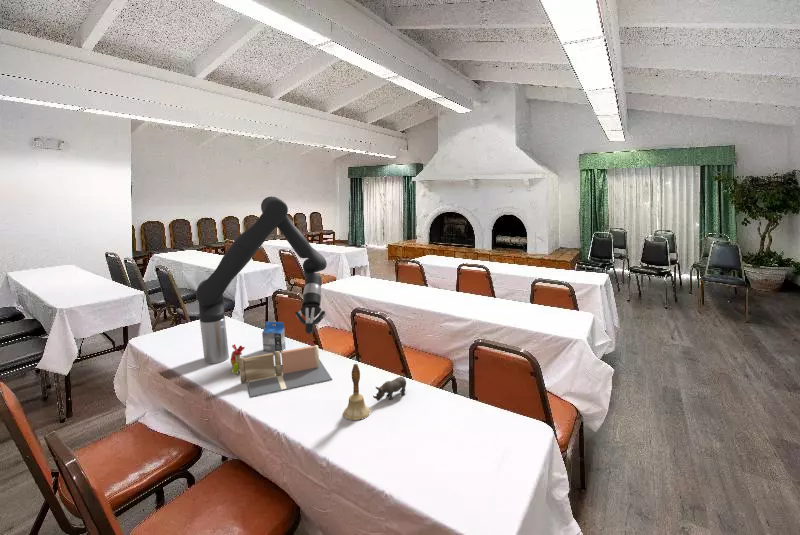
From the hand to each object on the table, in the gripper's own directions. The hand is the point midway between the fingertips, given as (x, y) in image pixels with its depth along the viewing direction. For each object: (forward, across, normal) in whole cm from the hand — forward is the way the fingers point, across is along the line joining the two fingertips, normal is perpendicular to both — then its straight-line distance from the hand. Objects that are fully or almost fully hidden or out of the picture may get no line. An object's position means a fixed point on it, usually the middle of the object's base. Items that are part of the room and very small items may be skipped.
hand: (309, 333), depth 163 cm
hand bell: (+38, +21, -22) cm, 49 cm away
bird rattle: (+14, -27, +2) cm, 30 cm away
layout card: (+19, -6, -3) cm, 20 cm away
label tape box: (0, -17, +16) cm, 23 cm away
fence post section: (+20, -15, -5) cm, 25 cm away
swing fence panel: (+16, -1, -1) cm, 16 cm away
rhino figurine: (+32, +32, -16) cm, 48 cm away
